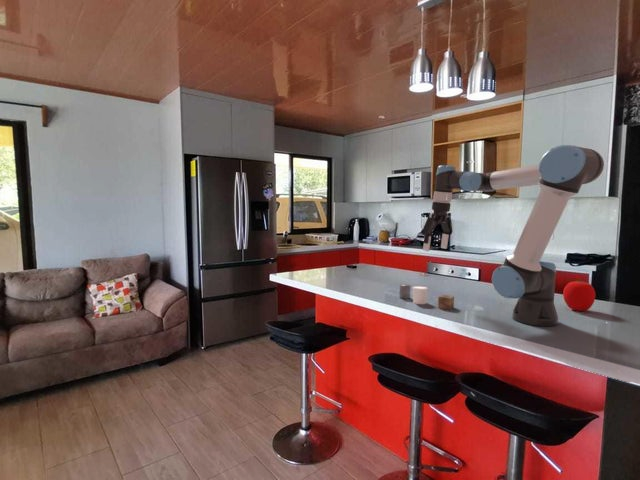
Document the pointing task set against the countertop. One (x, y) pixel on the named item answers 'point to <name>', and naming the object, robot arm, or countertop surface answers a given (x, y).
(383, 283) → the countertop surface
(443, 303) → the walnut block
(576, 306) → the tomato
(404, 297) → the dark grey cylinder
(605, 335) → the countertop surface
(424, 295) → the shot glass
